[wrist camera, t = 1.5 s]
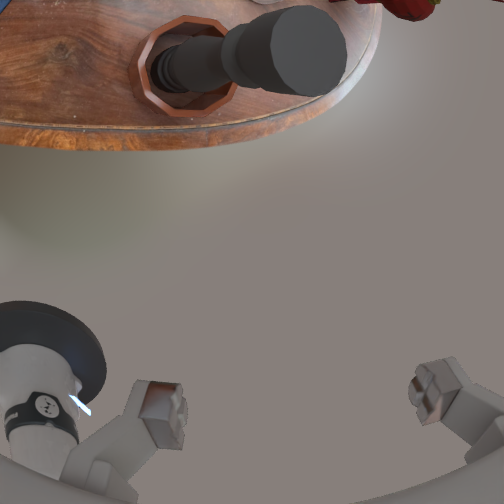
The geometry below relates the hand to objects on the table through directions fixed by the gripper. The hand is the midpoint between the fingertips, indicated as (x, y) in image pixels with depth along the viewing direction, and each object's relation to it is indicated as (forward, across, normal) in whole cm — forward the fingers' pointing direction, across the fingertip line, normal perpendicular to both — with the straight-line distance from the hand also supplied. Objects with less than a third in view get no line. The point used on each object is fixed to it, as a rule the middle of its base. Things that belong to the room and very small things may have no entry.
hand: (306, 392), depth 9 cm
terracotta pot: (+31, -10, +17) cm, 37 cm away
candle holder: (+32, -11, +17) cm, 37 cm away
